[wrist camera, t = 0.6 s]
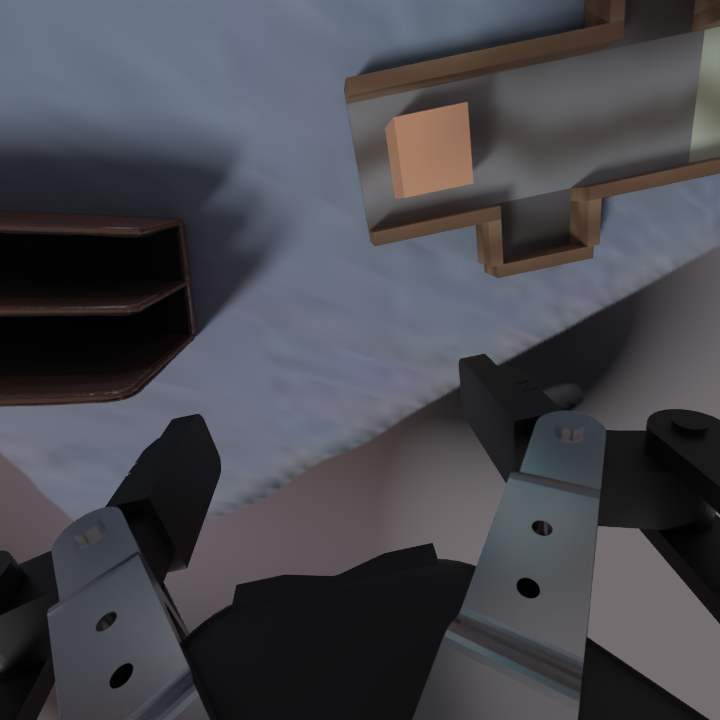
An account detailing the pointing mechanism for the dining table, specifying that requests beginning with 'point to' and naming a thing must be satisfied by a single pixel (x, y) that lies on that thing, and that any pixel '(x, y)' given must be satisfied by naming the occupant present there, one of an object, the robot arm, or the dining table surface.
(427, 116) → the block
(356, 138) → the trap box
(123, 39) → the dining table surface
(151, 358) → the letter holder
